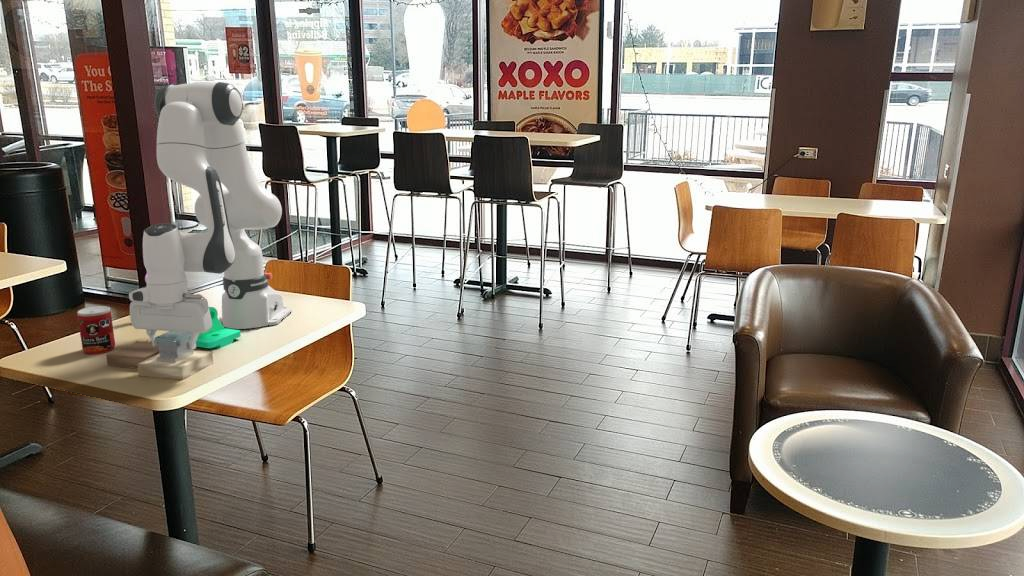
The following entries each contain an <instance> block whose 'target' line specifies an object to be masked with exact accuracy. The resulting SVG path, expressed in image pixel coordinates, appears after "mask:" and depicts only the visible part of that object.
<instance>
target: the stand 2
mask: <svg viewBox="0 0 1024 576" xmlns="http://www.w3.org/2000/svg"><path fill="white" fill-rule="evenodd" d="M193 353H194V354H192V355H190V356H188V357H186V358H185V359H183V360H181V361H179V362H177V363H168V362H157V357H159V354H158V355H155V356H153V357H151V358H149V359H147V360H145V361H143V362H141V363H139V364H138V368H137V370H138V376H140V377H146V376H148V377H149V378H158V379H159V378H160V379H169V378H170V379H173V380H182V381H183V380H185V379H187V378H189V377H191V376H192V375H195V374H196V373H198V372H200V371H201V370H203V369H205V368H208V367H209V366H210V365H212V364H214V358H213V357H214V356H213V351H209V350H196V349H193Z"/></svg>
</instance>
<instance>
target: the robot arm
mask: <svg viewBox="0 0 1024 576" xmlns="http://www.w3.org/2000/svg"><path fill="white" fill-rule="evenodd" d="M153 106H154V111H155V114H156V115H157V117H158V124H157V129H156V131H157V133H156V161H157V166H158V168H159V170H160V171H161V173H162V174H163V175H164V176H165V177H167V178H168V179H169V180H171V181H173V182H175V183H177V184H180V185H182V186H185V187H187V188H190V189H193V190H194V191H196V193H198V194H199V196H198V197H197V198H196V201H195V203H194V214H195V216H196V219H197V220H198V222H199V223H200V224H201V225H203V227H205V228H206V229H207V232H182V231H180V230H179V228H178V226H177V225H176V224H174V223H170V222H169V223H168V222H167V223H165V222H163V223H157V224H153V225H150V226H149V227H147V228H145V229H144V230H143V234H142V235H143V236H142V258H143V259H142V260H143V265H144V267H145V269H146V274H147V279H146V282H145V283H146V285H145V286H143V287H141V288H138V289H135V290H133V291H131V292H129V294H128V298H129V301H131V302H130V304H129V318H130V324H131V326H132V327H133V328H134V329H136V330H146V331H145V332H146V335H147V336H148V337H149V339H150V340H151V342H152V345H153V347H158V342H155V339H154V338H155V337H157V336H159V335H158V334H157V331H165V332H169V331H176V332H189V336H190V337H191V339H190V341H189V342H187V343H186V346H187V349H190V350H196V348H197V347H196V340H197V338H198V336H199V333H205V332H207V331H209V330H210V329H211V327H212V319H211V315H210V311H209V308H208V307H209V301H208V299H207V298H206V297H205V296H203V295H202V294H199V293H196V294H195V293H189V288H188V280H187V275H186V273H190V272H191V273H199V272H200V273H209V274H217V275H218V274H219V275H220V274H223V277H222V286H223V290H224V292H223V293H222V296H221V316H220V317H219V318H218V319H219V321H220V322H221V324H222V325H223V326H224V328H227V329H234V330H243V329H244V330H247V329H253V328H254V329H256V328H262V327H267V326H268V325H269V326H275V324H276V325H278V324H280V323H281V322H282V321H283V320H284V319H285V318H287V317H288V316H289V315H290V314H291V313H292V312H293V311H292V308H291V307H285V306H284V301H283V296H282V294H281V293H280V292H279V291H277V290H276V289H274V288H273V287H271V286H270V284H269V281H271V280H272V279H273V274H272V272H269V273H268V272H265V269H264V258H263V257H264V256H263V251H262V248H261V246H260V245H259V244H258V243H256V242H254V241H253V240H252V239H251V238H250V237H249V236H248V235H247V232H246V230H251V231H261V230H265V229H266V230H267V229H271V228H274V227H276V226H278V224H279V222H280V220H281V219H282V215H283V208H282V205H281V202H280V200H279V198H278V196H276V195H275V194H274V193H272V192H270V191H269V190H268V189H267V188H266V187H264V185H263V184H262V183H261V182H260V180H259V179H258V177H257V176H256V174H255V172H254V170H253V169H252V168H253V167H252V165H251V162H250V159H249V155H248V149H247V146H246V141H245V138H244V132H243V128H242V125H241V122H240V120H239V119H240V118H241V117H242V114H243V110H244V107H243V106H244V104H243V98H242V95H241V93H240V91H239V90H238V89H237V88H236V87H235V85H233V84H232V83H228V82H223V81H221V82H220V81H217V82H212V81H211V82H209V81H194V82H190V83H189V82H188V83H180V84H169V85H165V86H161V87H160V88H159V89H158V90H157V92H156V94H155V96H154V100H153ZM222 185H223V186H224V187H225V188H226V189H225V190H224V189H223V187H222ZM185 272H186V273H185ZM291 311H292V312H291ZM290 312H291V313H290ZM289 313H290V314H289ZM288 314H289V315H288ZM287 315H288V316H287ZM284 317H285V318H284ZM283 318H284V319H283ZM282 319H283V320H282ZM281 320H282V321H281ZM280 321H281V322H280Z"/></svg>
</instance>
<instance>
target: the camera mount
mask: <svg viewBox="0 0 1024 576" xmlns="http://www.w3.org/2000/svg"><path fill="white" fill-rule="evenodd" d="M208 308H209V311H210V315H211V319H212V327H211V329H210V330H209V331H207V332H205V333H199V336H198V338H197V340H196V348H197V347H198V348H203V349H213V348H219V349H221V348H224V347H226V346H229V345H231V344H234V340H236V339H238V338H240V337H242V336H241V335H242V333H241V329H233V328H227V327H225V326H223V323H222V322H220V321H219V318H218V315H219V314H218V310H217V309H216V307H214V306H208ZM190 339H191V337H190V336H189V341H190Z"/></svg>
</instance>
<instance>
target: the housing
mask: <svg viewBox="0 0 1024 576" xmlns="http://www.w3.org/2000/svg"><path fill="white" fill-rule="evenodd" d="M154 339H155V342H158V347H159V357H157V362H168V363H177V362H179V361H181V360H183V359H185V358H186V357H188V356H190V355H192V354H194V353H193V350H194V349H193V350H190V349H187V346H186V343H187V342H189V332H176V331H165V332H164V333H162V334H160V335H158V336H157V337H155V338H154Z"/></svg>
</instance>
